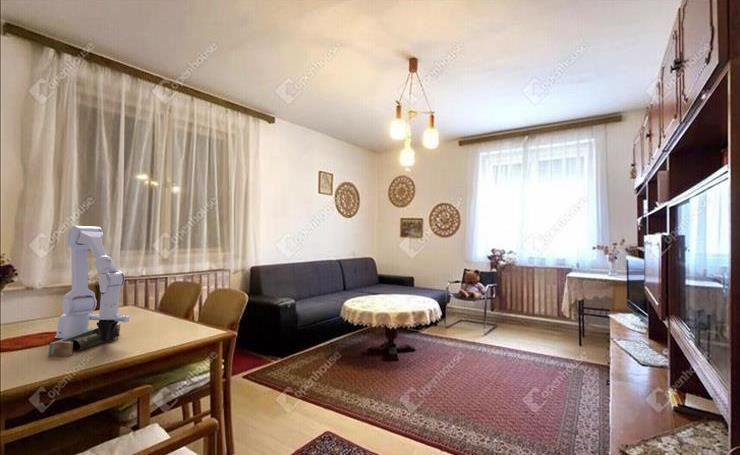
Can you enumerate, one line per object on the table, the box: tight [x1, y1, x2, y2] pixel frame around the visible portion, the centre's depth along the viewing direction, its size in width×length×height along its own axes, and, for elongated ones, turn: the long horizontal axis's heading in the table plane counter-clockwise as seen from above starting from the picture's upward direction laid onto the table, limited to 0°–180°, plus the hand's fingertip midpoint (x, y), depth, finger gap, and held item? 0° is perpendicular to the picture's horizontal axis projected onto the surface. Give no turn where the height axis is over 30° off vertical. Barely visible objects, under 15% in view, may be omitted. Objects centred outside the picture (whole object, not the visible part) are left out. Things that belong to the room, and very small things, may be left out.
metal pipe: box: [70, 328, 120, 353], centre depth 136 cm, size 18×7×6 cm, turn 171°
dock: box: [48, 323, 121, 357], centre depth 135 cm, size 6×27×4 cm, turn 3°
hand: (106, 339), depth 136 cm, fingers closed
